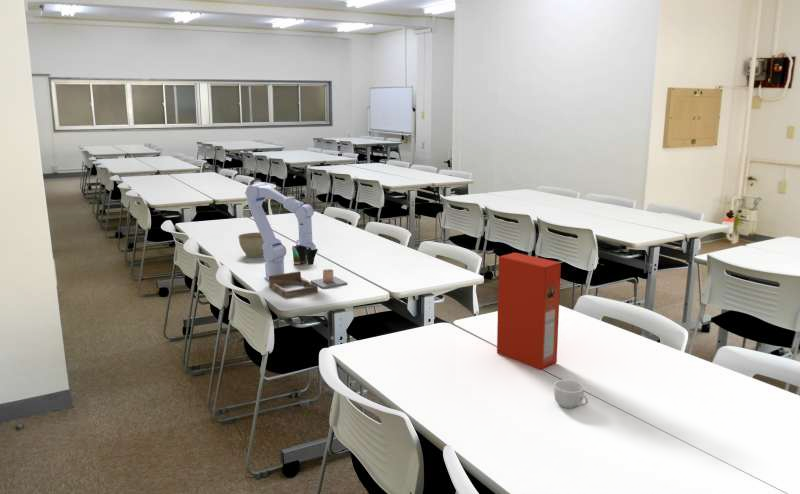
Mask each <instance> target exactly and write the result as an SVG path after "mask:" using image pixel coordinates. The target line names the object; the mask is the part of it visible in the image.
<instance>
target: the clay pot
mask: <svg viewBox="0 0 800 494" xmlns="http://www.w3.org/2000/svg"><path fill="white" fill-rule="evenodd" d="M333 277H334V269H329V268H326V269H323V270H322V279H323V282H324V283H332V282H333Z"/></svg>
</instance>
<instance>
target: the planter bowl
mask: <svg viewBox="0 0 800 494" xmlns="http://www.w3.org/2000/svg"><path fill="white" fill-rule="evenodd" d="M238 240H239V241H238V242H239V245H240V249H241V250H242V251H243V253H244V254H245V256H246V257H247V258H261V257H264V255H263V249H262V246H263V244H264V241H263V239H262V236H261V234H260V232H248V233H241V234H239V235H238Z"/></svg>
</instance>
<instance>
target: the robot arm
mask: <svg viewBox="0 0 800 494" xmlns="http://www.w3.org/2000/svg"><path fill="white" fill-rule="evenodd" d="M244 194H245V196H246V198H247V199H246V200H247V206H248V209H249V211H250V213H251V215H252V218H253V220H254V223H255V225H256V227H257V229H258V231H259V232H258V233H260V234H261V236H262V239H263V241H264V244H263V246H262V249H263V255H264V256H263V258H264V259H265V260H266V261H265V264H264V265H265V276H263V278H264V279H265V280H267V281H268V282H269V276H272V275H279V274H285V263H284V259H285V256H286V255H287V248H286V246H285V245H284V244H283V242H282V241H281V240H280V239H279V238H277V237H276V235H275V233H274V231H273V228H272V227H271V224H270V222H269V219H268V217H267V215H266V212H265V210H264V208H263V202H264V201H265V199H267V198H270V199H272V200H274V201H276V202H278V203H280V204H282V206H283V208H284V209H286V210H287V211H289V212H291V213H292V214H294V215H295V217H296V219H297V222H298V239H296V241H295V242H296V245H298V246H296V245H294V246H295V248H296V250H297V252H298V255H299V258H300V261H301V262H302V261H305V259H306V256H307V265H308V266H312V265H314V261H315V257H316V254H317V253H318V251H319V249H318V248H316V244H315V243H314V242H313V225H312V224H313V223H312V222H313V221H312V217H313V216H314V213H315V209H314V207H313V206H312V205H311V203H310V204H309V203H306V204H305V203H304V202H303V201H300V200H297V199H296V197H295V196H286V195H284V194H282V193H281V192H279V191H278V190H276V189H275V188H273V187H272V185H271V184H268V183H267V182H260V183H255V184H249V185H248V186H247V187H246V190H245V192H244ZM307 248H308V249H307Z"/></svg>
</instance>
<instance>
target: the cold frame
mask: <svg viewBox="0 0 800 494" xmlns="http://www.w3.org/2000/svg"><path fill="white" fill-rule="evenodd" d="M301 273H302V272H301V270H298V271H292V272H286V273H285V272H284V274H279V275H272V276H269V281H268V285H269V286H268V287H269V288H270V289H271V290H273V291H274V292H275V293H277V294H279V295H281V296H283V297H284V298H285V299H287V298H292V297H298V296H304V295H308V294H315V293H319V289H318V287H319V286H317V285H315V284H313V283H311V281H309V280H307V279H305V278H303V277H302V274H301ZM294 284H300V286H301V285H302V286H303V287H301V288H296V289H295V288H294V289H290V290H287V289H285V288H283V287H284V286H288V285H294Z"/></svg>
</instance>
